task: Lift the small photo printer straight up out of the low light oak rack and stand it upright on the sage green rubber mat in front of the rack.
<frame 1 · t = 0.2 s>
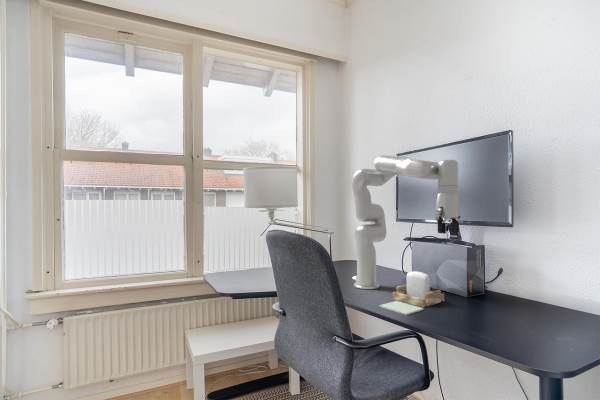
hand: (448, 232, 136), 30 cm above the table, tool pointing down, fingers open, 9 cm apart
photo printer: (418, 300, 147), resting in oak rack
green mat: (401, 308, 135), on the table
oak rack: (418, 300, 147), on the table
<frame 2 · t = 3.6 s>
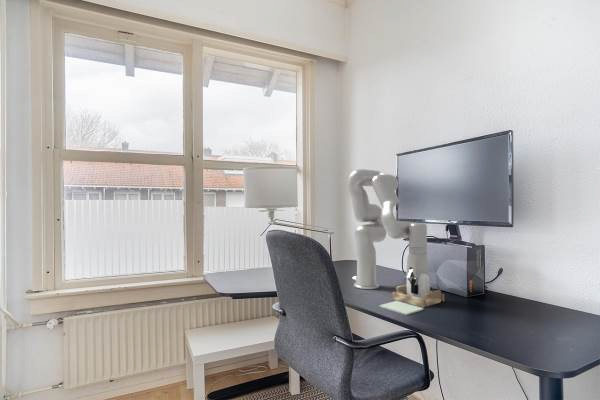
hand: (418, 292, 147), 3 cm above the table, tool pointing down, fingers closed on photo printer, 4 cm apart
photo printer: (418, 300, 147), resting in oak rack, touching gripper
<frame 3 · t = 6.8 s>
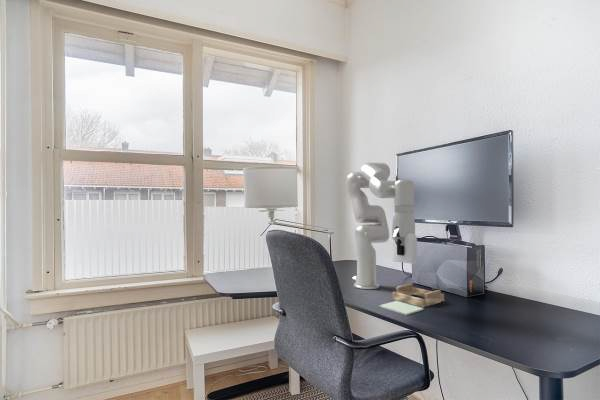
hand: (404, 254, 137), 22 cm above the table, tool pointing down, fingers closed on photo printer, 4 cm apart
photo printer: (404, 262, 137), point 18 cm above the table, touching gripper
when the fingers open (5 cm above the table, at t = 10.5 s): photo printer stays where it is, resting on green mat.
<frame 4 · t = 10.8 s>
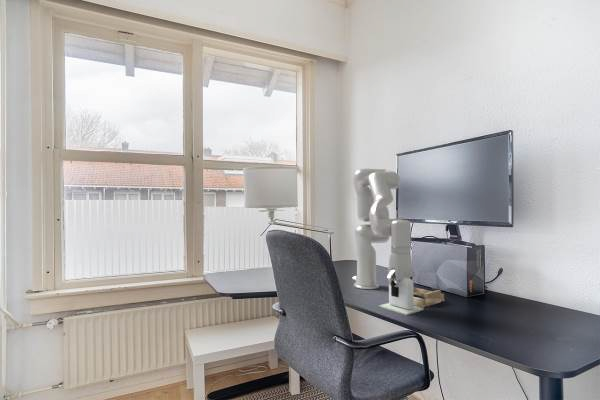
hand: (401, 294, 135), 6 cm above the table, tool pointing down, fingers open, 7 cm apart
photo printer: (400, 307, 135), resting on green mat
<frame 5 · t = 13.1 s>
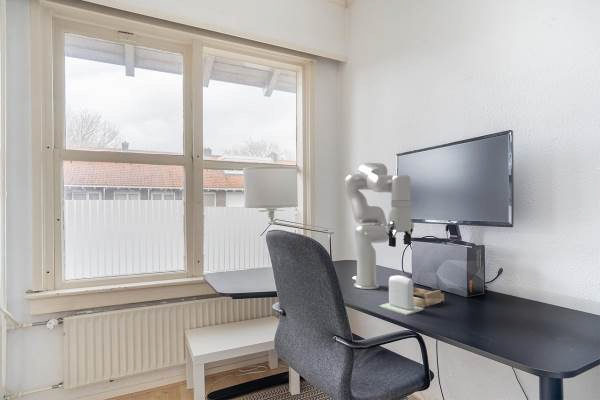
hand: (399, 245, 140), 25 cm above the table, tool pointing down, fingers open, 9 cm apart
nothing on the table moved.
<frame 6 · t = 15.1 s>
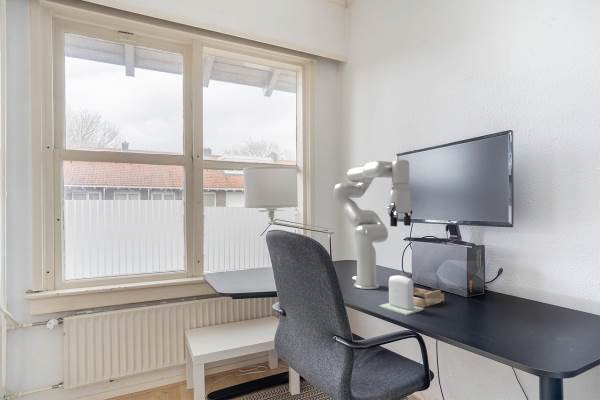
hand: (400, 225, 149), 32 cm above the table, tool pointing down, fingers open, 9 cm apart
nothing on the table moved.
at the end: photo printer inside the target area (0.1 cm from its centre), resting on green mat; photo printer tilted 0°; the gripper is holding nothing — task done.
